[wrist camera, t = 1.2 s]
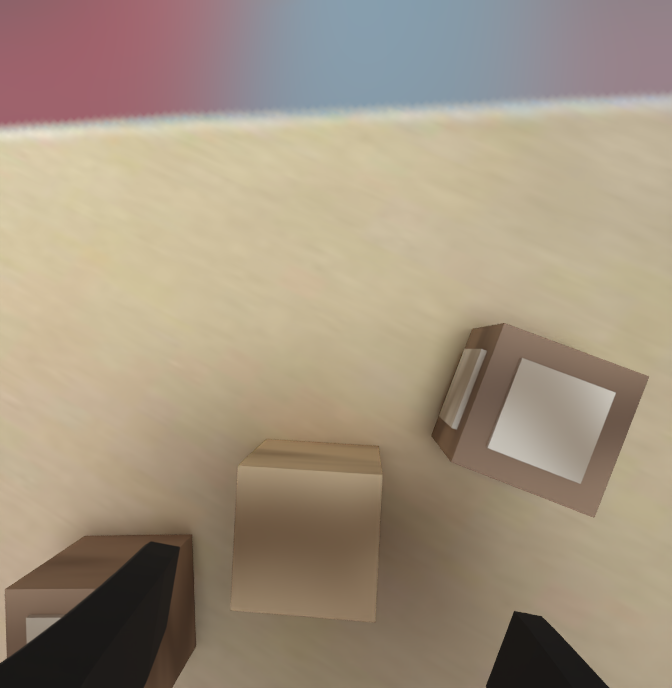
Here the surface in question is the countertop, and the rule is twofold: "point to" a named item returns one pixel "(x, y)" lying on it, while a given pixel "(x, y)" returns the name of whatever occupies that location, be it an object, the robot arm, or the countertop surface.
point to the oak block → (308, 530)
